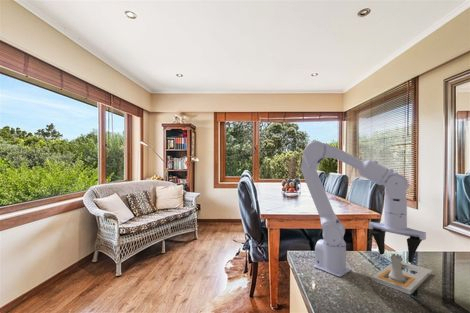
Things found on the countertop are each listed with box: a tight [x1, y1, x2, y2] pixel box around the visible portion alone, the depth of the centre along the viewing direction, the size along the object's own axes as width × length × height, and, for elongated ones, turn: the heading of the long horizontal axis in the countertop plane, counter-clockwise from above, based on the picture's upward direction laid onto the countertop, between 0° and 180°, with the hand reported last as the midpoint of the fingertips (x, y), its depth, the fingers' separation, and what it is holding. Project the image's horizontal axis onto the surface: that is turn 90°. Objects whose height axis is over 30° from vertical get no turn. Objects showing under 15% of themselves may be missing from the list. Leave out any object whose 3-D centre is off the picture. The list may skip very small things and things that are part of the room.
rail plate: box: [371, 261, 432, 295], centre depth 76 cm, size 10×20×1 cm, turn 128°
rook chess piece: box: [387, 253, 407, 284], centre depth 73 cm, size 4×4×8 cm
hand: (395, 257), depth 73 cm, fingers open, 7 cm apart
